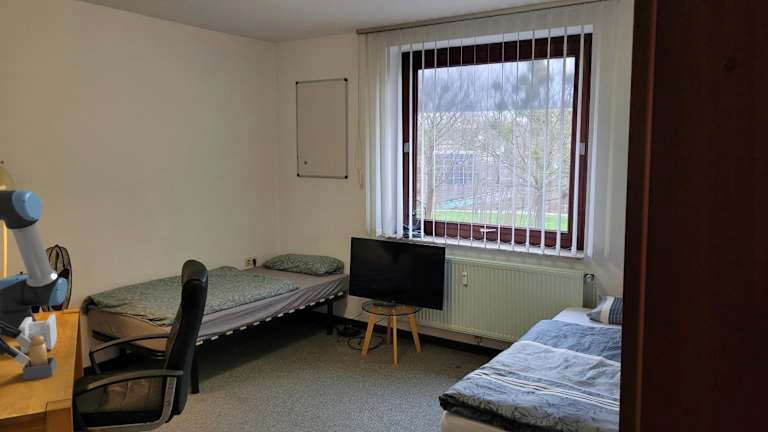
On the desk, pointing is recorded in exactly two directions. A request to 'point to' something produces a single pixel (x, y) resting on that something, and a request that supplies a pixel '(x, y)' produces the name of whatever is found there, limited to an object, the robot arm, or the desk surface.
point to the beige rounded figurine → (38, 351)
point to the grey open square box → (39, 370)
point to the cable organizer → (40, 331)
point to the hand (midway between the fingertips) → (29, 354)
